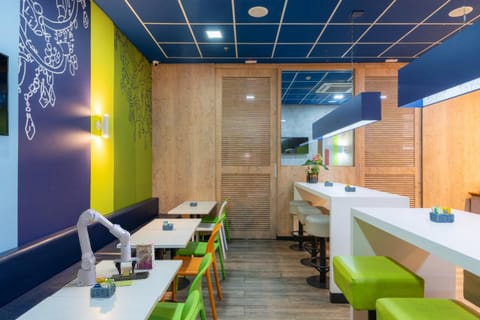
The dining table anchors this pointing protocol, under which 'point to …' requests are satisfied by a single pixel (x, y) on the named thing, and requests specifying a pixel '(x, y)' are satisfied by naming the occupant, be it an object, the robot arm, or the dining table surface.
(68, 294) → the dining table surface
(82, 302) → the dining table surface
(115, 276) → the graphite rail
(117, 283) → the green rubber pad
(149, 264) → the candy bar box
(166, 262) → the dining table surface
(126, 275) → the brass nut block
